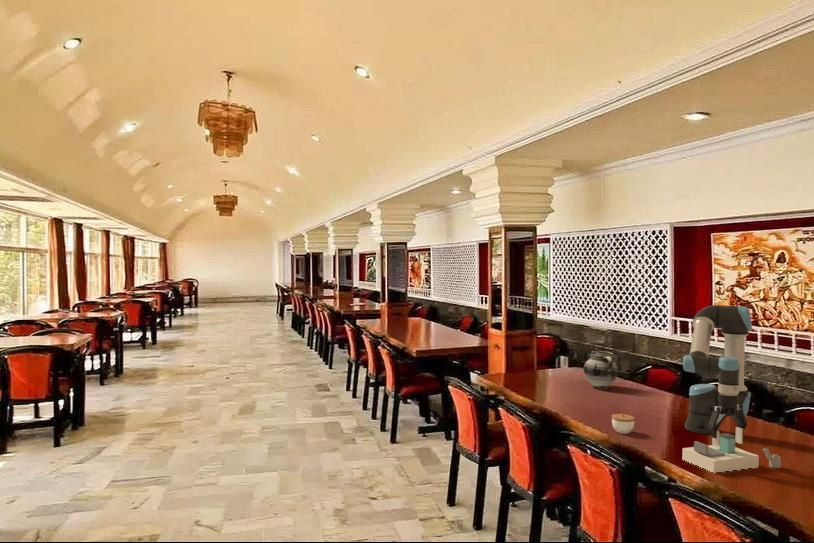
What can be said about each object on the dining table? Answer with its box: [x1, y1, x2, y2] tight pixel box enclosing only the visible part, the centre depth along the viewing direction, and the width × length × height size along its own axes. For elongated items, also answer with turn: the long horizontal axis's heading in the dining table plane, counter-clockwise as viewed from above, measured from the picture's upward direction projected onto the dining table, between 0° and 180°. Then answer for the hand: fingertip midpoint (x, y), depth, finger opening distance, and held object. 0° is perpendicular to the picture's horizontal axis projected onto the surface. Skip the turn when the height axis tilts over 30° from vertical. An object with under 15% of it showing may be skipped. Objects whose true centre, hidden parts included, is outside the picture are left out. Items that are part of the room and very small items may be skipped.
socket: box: [681, 443, 760, 474], centre depth 229 cm, size 24×16×5 cm, turn 108°
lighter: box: [762, 447, 782, 469], centre depth 226 cm, size 7×2×8 cm, turn 95°
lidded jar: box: [611, 413, 636, 435], centre depth 272 cm, size 11×11×9 cm
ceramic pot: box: [583, 350, 620, 390], centre depth 372 cm, size 29×23×25 cm
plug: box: [719, 432, 736, 454], centre depth 230 cm, size 4×4×12 cm
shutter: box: [693, 440, 725, 457], centre depth 227 cm, size 9×8×4 cm
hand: (727, 444), depth 230 cm, fingers open, 12 cm apart
